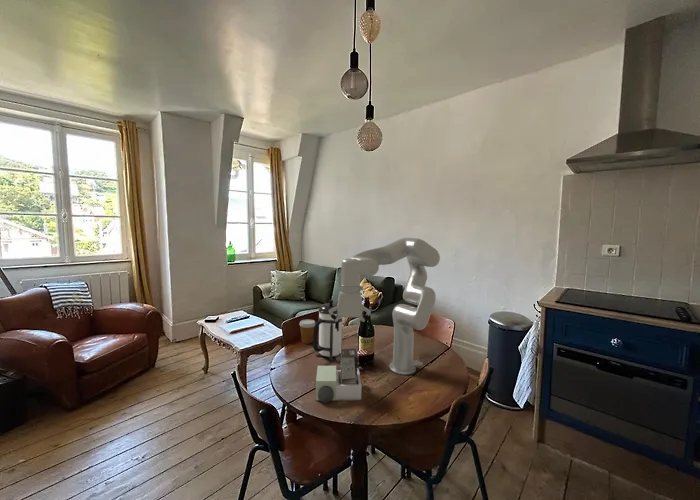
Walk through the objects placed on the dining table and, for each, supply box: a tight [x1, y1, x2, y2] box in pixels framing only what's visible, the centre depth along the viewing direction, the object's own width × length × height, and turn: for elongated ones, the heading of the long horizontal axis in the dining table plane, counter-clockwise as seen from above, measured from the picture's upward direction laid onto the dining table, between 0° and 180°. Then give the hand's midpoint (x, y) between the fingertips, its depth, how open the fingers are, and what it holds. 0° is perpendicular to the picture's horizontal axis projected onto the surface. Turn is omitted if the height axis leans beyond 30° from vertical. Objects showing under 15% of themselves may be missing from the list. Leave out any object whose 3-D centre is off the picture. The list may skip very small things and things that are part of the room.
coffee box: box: [340, 348, 359, 385], centre depth 127 cm, size 9×6×16 cm
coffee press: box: [312, 299, 344, 362], centre depth 160 cm, size 17×16×30 cm
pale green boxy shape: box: [315, 365, 362, 404], centre depth 128 cm, size 18×16×8 cm
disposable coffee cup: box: [298, 318, 316, 344], centre depth 180 cm, size 10×10×12 cm
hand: (349, 330), depth 126 cm, fingers open, 9 cm apart
